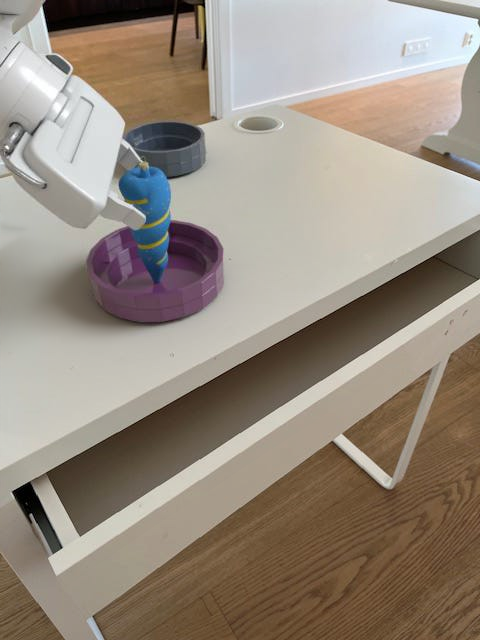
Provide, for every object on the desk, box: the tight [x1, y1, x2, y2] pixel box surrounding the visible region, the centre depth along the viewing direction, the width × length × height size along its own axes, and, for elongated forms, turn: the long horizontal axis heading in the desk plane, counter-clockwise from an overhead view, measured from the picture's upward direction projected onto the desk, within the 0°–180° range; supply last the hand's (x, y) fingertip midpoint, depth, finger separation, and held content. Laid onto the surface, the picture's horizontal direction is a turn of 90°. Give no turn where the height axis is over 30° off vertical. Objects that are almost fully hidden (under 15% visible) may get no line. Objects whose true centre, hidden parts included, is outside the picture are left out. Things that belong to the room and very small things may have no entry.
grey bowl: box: [122, 120, 207, 178], centre depth 84 cm, size 13×13×4 cm
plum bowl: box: [85, 219, 225, 323], centre depth 59 cm, size 15×15×4 cm
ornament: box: [118, 156, 172, 283], centre depth 55 cm, size 5×5×15 cm
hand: (145, 198), depth 54 cm, fingers open, 8 cm apart
